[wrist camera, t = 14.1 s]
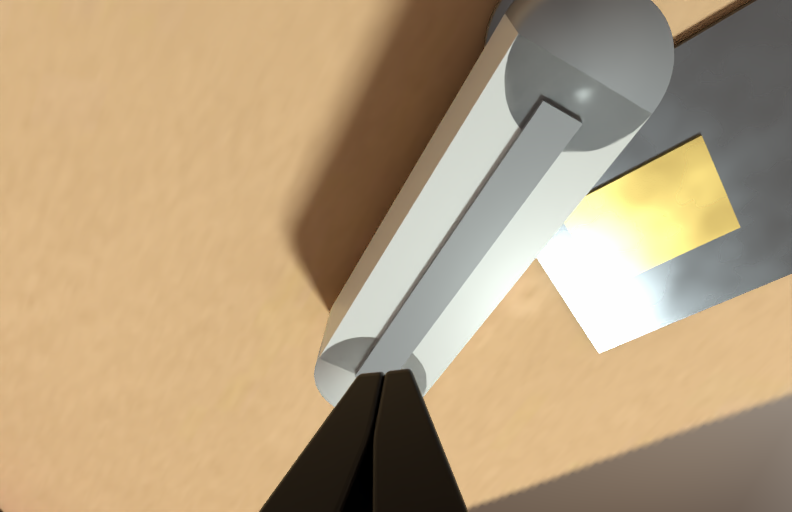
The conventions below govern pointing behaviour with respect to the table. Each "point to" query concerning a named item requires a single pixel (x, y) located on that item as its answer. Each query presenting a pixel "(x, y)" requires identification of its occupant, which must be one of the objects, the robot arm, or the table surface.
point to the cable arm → (497, 182)
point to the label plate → (689, 187)
